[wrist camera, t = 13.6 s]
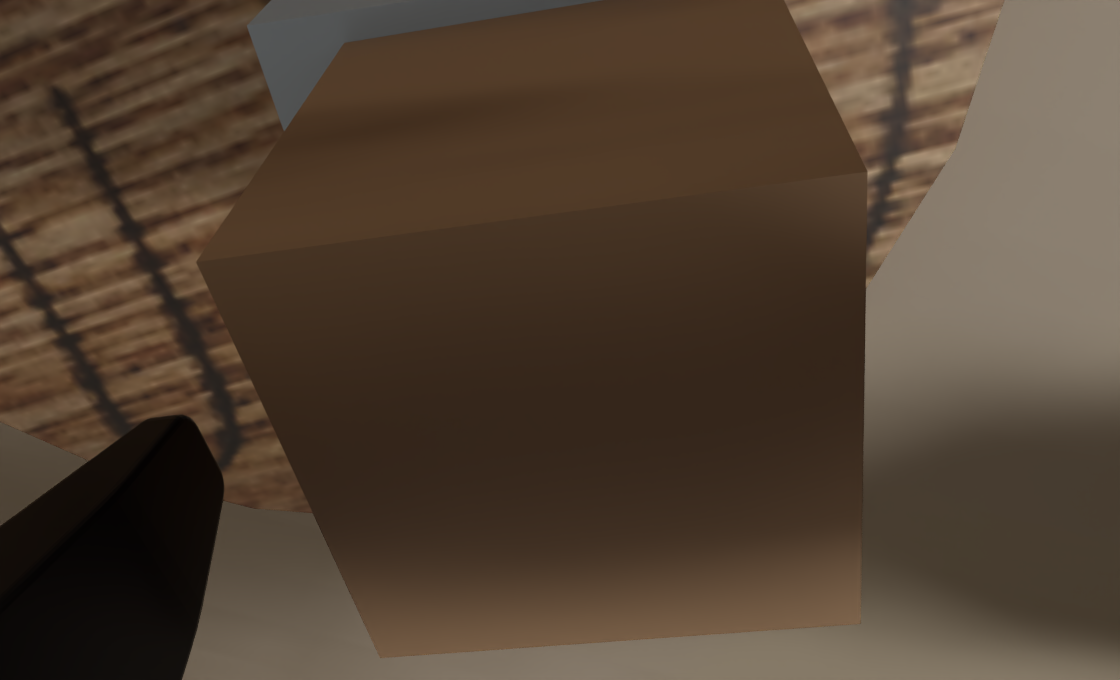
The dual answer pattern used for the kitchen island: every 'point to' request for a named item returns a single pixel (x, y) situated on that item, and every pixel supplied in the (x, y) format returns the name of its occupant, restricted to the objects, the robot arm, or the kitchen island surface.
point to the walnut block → (567, 326)
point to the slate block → (352, 34)
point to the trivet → (235, 157)
